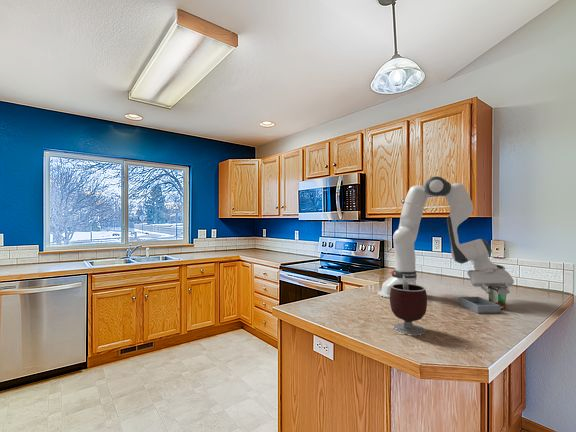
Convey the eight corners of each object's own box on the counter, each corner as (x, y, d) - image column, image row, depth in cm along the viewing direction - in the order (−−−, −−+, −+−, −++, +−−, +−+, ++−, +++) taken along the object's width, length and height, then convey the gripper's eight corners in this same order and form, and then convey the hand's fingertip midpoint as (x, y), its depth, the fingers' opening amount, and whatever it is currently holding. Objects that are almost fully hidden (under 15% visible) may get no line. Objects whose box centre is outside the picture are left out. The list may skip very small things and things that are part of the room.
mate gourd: (432, 337, 115) (431, 284, 115) (393, 335, 117) (392, 283, 117) (421, 323, 130) (420, 276, 130) (387, 322, 133) (386, 275, 133)
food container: (513, 311, 146) (513, 290, 146) (499, 310, 147) (498, 289, 147) (501, 304, 158) (500, 284, 158) (487, 303, 159) (487, 284, 160)
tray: (477, 313, 143) (477, 305, 144) (458, 303, 160) (458, 296, 160) (500, 313, 143) (500, 305, 144) (478, 303, 160) (478, 296, 160)
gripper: (468, 266, 162) (480, 289, 152) (507, 266, 162) (521, 289, 152) (463, 273, 166) (475, 296, 156) (501, 273, 166) (515, 296, 156)
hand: (498, 292), depth 154 cm, fingers open, 8 cm apart
